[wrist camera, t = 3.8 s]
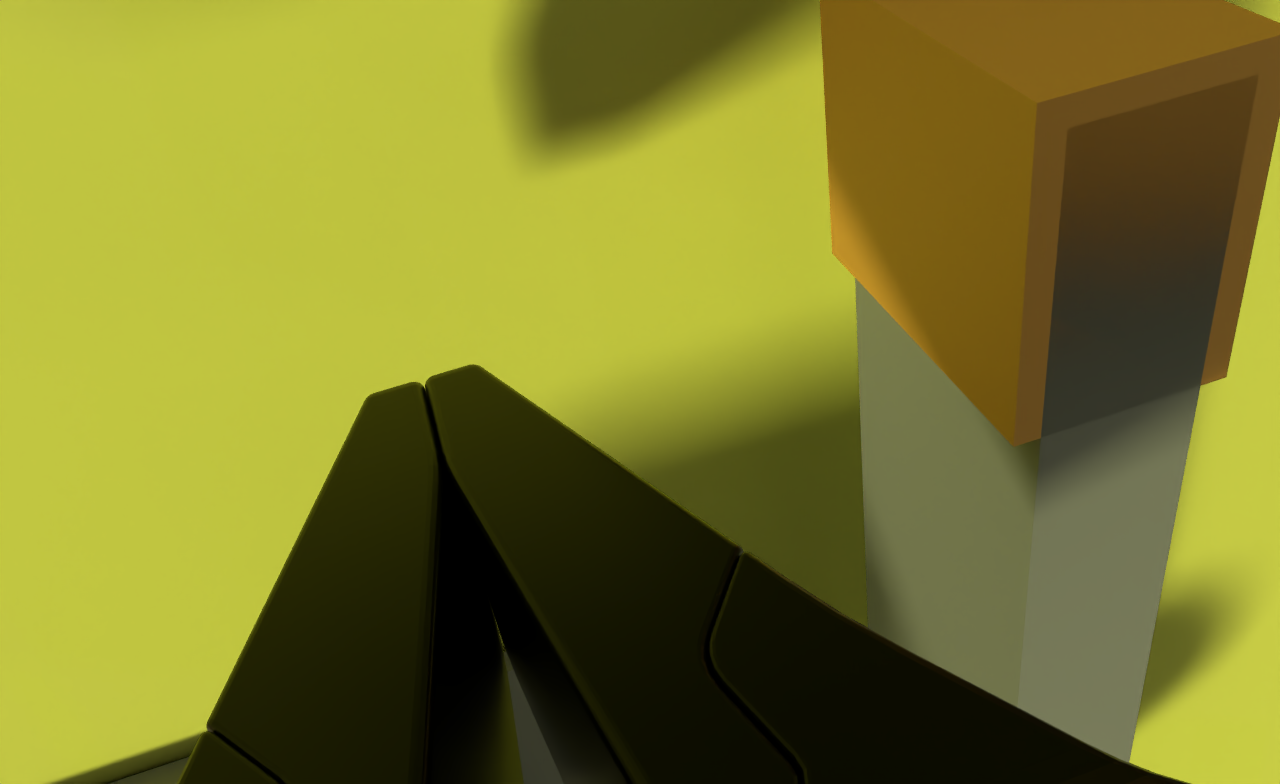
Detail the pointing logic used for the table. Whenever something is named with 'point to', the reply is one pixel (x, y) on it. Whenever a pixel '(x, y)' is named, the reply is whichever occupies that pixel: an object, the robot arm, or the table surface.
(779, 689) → the robot arm
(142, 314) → the table surface
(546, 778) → the socket plate
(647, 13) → the table surface
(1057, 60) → the bar
